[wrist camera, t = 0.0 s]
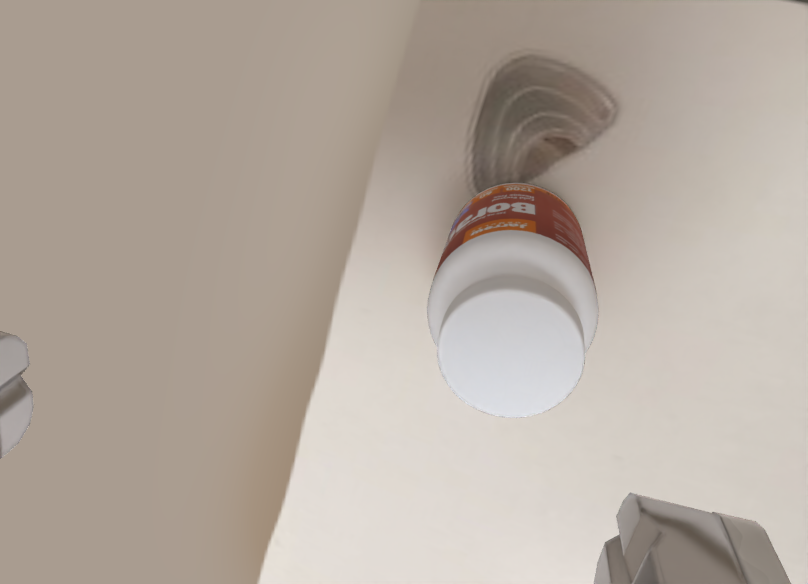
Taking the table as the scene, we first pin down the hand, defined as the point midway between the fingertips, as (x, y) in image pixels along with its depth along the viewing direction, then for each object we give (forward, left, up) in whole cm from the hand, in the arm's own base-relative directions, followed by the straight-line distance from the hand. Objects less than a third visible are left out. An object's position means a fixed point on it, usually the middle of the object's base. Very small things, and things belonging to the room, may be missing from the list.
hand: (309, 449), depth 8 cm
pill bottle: (+4, +3, -22) cm, 23 cm away
